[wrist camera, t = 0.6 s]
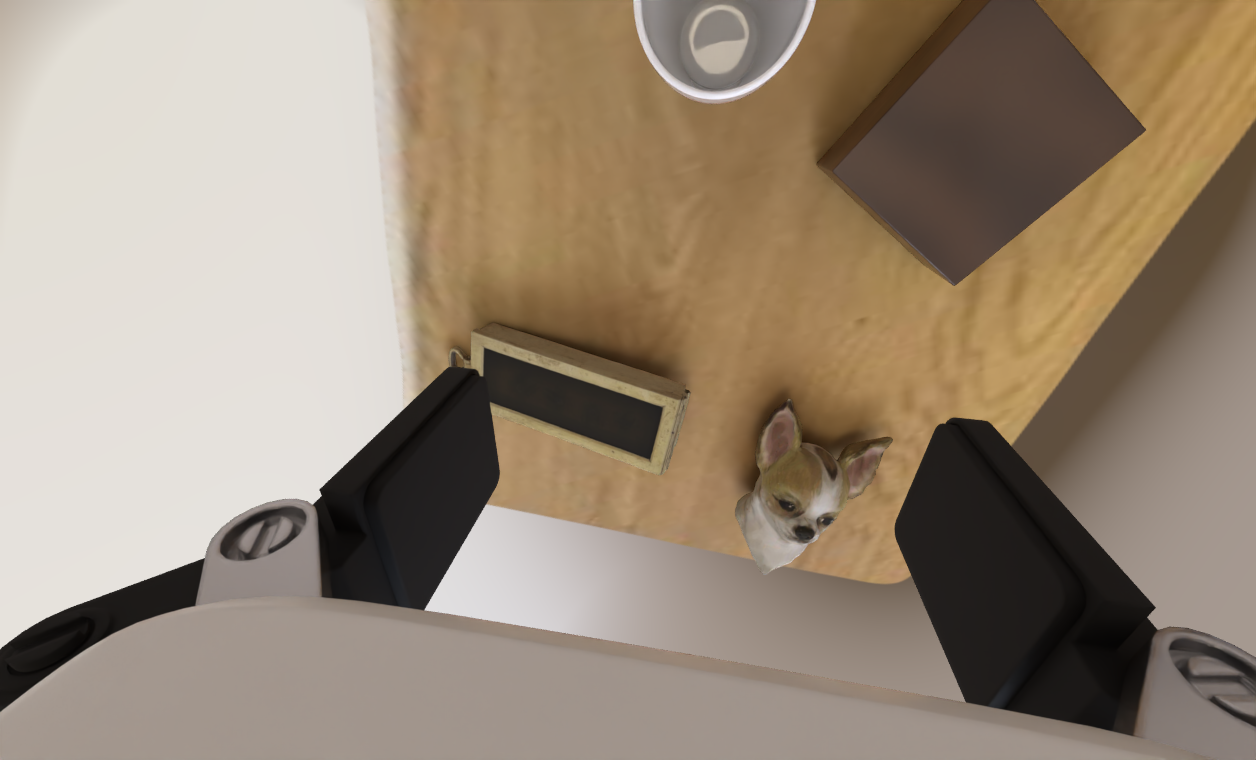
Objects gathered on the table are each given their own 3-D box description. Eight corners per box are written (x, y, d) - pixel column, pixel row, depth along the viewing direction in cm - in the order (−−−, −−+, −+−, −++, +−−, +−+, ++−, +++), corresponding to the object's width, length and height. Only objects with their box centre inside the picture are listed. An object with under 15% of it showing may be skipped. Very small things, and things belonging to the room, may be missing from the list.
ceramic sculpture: (708, 569, 40) (795, 433, 33) (706, 501, 48) (776, 380, 41) (822, 611, 41) (930, 485, 34) (801, 537, 48) (886, 423, 42)
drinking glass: (768, -40, 27) (817, -179, 15) (779, 92, 30) (828, 73, 18) (655, -1, 29) (610, -95, 16) (676, 120, 32) (651, 122, 19)
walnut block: (965, -3, 27) (1013, -26, 23) (1082, 128, 29) (1147, 130, 25) (815, 164, 32) (831, 171, 28) (924, 265, 34) (954, 286, 30)
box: (679, 446, 44) (666, 479, 39) (469, 378, 48) (437, 401, 44) (699, 369, 40) (686, 395, 35) (467, 303, 44) (432, 320, 40)
